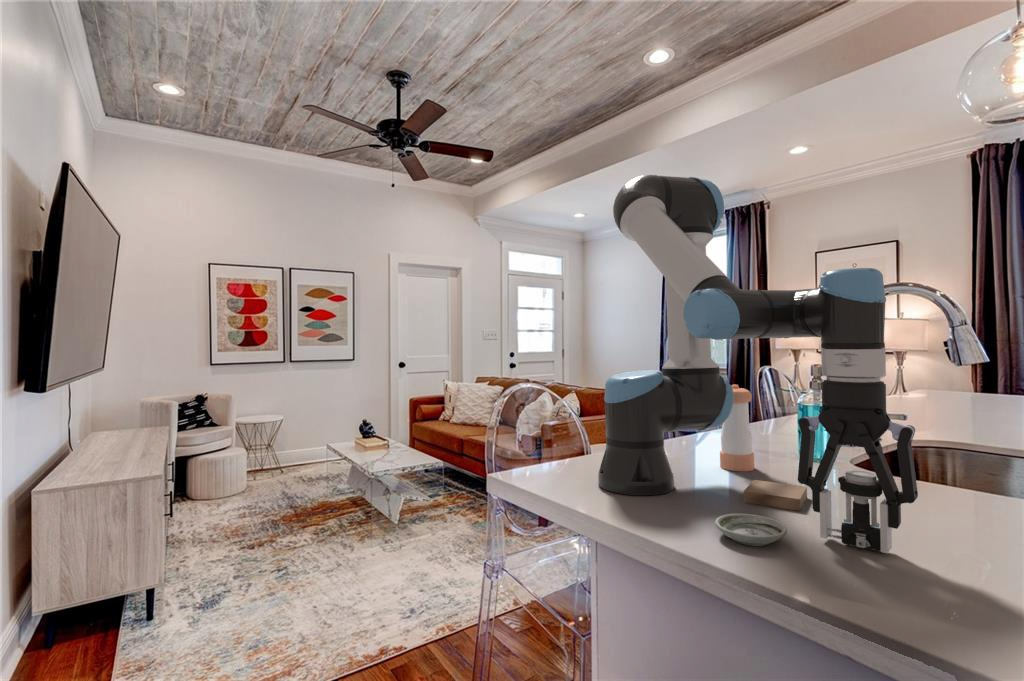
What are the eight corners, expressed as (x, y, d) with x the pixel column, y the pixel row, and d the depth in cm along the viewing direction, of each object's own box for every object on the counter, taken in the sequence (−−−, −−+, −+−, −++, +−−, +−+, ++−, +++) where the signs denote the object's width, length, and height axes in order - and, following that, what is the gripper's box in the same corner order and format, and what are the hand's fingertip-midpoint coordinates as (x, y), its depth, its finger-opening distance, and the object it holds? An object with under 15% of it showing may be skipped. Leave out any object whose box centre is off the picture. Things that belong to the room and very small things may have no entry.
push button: (826, 545, 71) (825, 474, 71) (829, 532, 76) (828, 466, 76) (885, 556, 67) (884, 481, 67) (884, 542, 72) (883, 472, 72)
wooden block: (743, 502, 92) (743, 491, 92) (754, 489, 99) (754, 479, 99) (800, 510, 87) (799, 499, 87) (807, 497, 94) (806, 486, 94)
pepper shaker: (744, 463, 121) (742, 383, 121) (760, 470, 114) (758, 385, 114) (714, 464, 121) (712, 383, 121) (729, 472, 113) (727, 386, 113)
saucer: (702, 531, 79) (702, 516, 79) (757, 525, 81) (757, 510, 81) (742, 556, 70) (741, 538, 70) (803, 549, 72) (802, 531, 72)
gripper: (769, 377, 76) (772, 531, 76) (938, 385, 62) (940, 573, 62) (787, 374, 81) (789, 518, 81) (946, 380, 67) (949, 554, 67)
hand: (855, 541), depth 72 cm, fingers closed on push button, 6 cm apart
